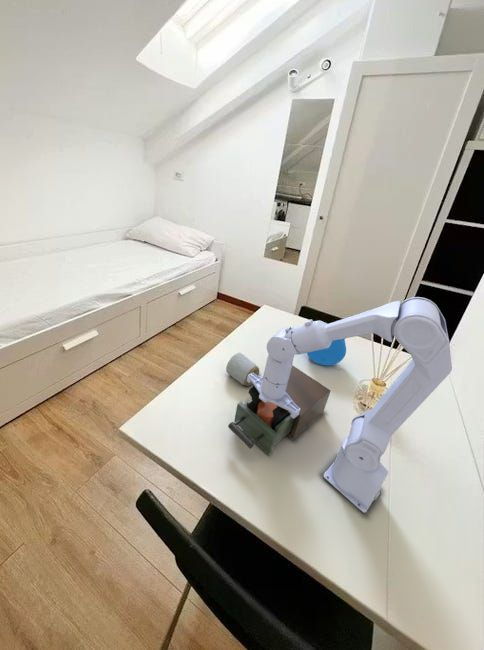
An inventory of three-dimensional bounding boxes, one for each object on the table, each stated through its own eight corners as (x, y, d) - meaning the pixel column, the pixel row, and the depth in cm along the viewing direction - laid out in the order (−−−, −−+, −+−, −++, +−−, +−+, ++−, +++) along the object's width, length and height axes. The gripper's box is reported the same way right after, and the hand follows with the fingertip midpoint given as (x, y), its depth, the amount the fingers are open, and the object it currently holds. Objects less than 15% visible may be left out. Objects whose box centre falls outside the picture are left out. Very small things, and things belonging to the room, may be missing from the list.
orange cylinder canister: (279, 425, 74) (283, 410, 72) (266, 435, 71) (269, 420, 69) (263, 411, 77) (266, 397, 75) (250, 421, 74) (253, 406, 72)
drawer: (254, 468, 65) (259, 448, 62) (219, 431, 72) (222, 412, 70) (301, 426, 76) (307, 408, 74) (267, 399, 84) (271, 381, 81)
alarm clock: (338, 360, 106) (350, 325, 100) (340, 371, 101) (352, 334, 95) (302, 351, 109) (311, 316, 104) (301, 360, 104) (311, 324, 98)
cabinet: (293, 439, 73) (300, 415, 70) (255, 407, 82) (259, 384, 79) (323, 412, 83) (330, 390, 79) (286, 385, 91) (291, 364, 88)
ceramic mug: (244, 392, 87) (248, 371, 84) (224, 377, 92) (227, 357, 89) (264, 377, 94) (269, 357, 91) (244, 364, 99) (248, 345, 96)
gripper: (242, 365, 70) (234, 407, 76) (291, 403, 61) (279, 448, 66) (260, 355, 75) (252, 395, 80) (310, 389, 65) (296, 432, 70)
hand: (265, 418), depth 73 cm, fingers closed on orange cylinder canister, 5 cm apart
